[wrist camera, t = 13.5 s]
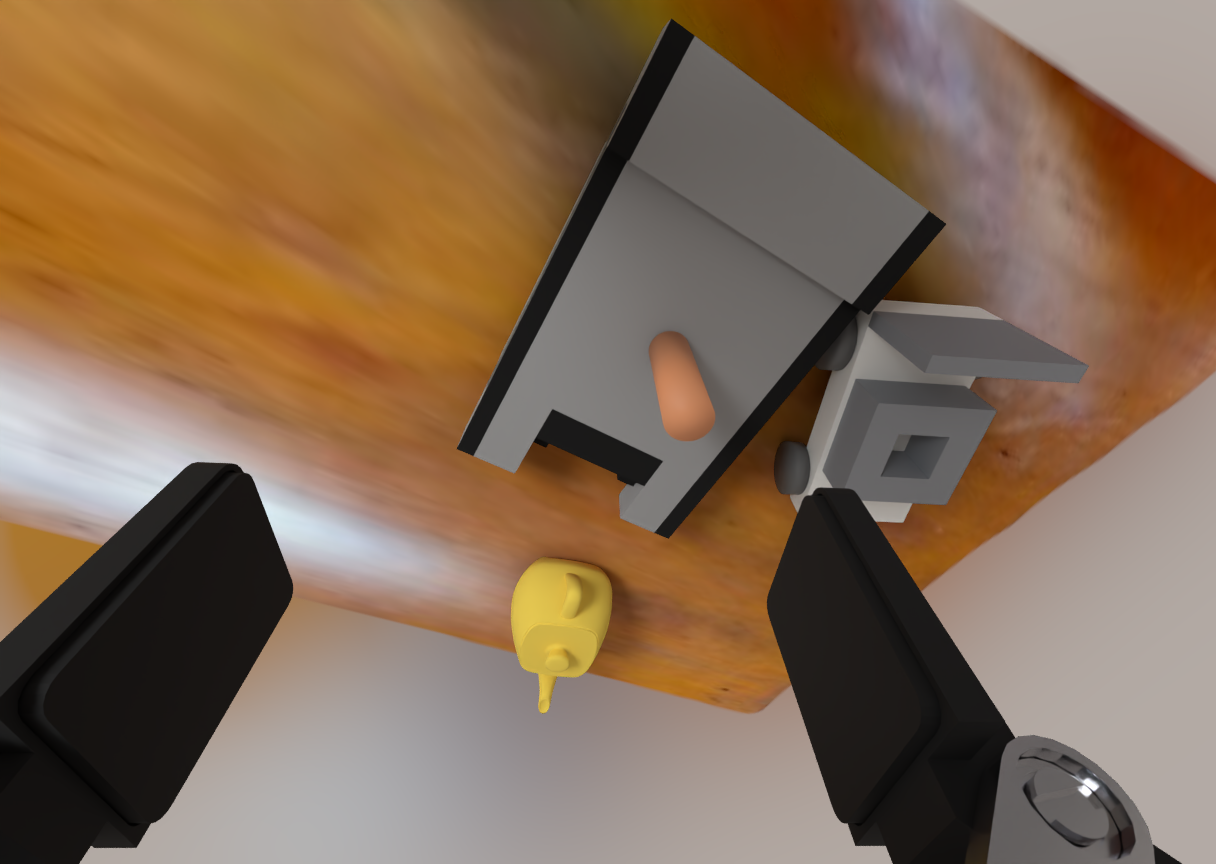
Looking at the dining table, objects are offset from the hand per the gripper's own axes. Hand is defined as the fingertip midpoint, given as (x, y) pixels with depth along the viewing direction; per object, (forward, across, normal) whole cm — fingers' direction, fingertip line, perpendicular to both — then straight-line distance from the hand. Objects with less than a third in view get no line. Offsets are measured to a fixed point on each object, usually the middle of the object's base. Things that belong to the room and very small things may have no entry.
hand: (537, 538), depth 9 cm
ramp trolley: (+35, -27, +16) cm, 47 cm away
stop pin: (+28, -7, +9) cm, 31 cm away
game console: (+36, -7, +9) cm, 38 cm away
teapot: (+35, 0, +42) cm, 55 cm away
